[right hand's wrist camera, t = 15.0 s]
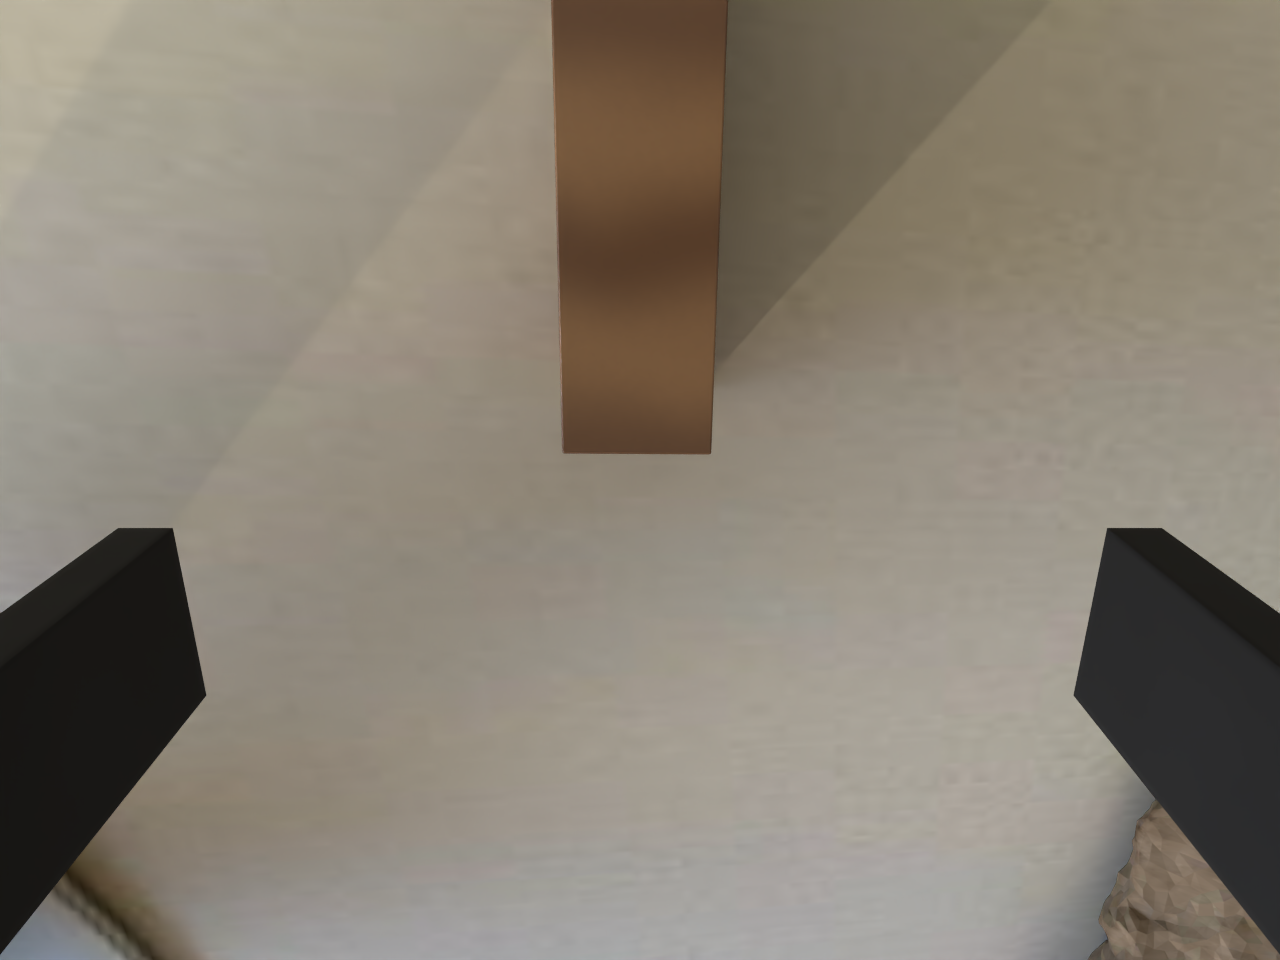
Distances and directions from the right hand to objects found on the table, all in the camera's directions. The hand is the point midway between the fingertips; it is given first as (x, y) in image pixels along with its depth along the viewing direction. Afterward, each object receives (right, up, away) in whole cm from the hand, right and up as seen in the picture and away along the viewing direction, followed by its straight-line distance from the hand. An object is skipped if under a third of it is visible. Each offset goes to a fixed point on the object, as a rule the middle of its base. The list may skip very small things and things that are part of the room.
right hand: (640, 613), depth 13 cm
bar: (0, +17, +20) cm, 26 cm away
